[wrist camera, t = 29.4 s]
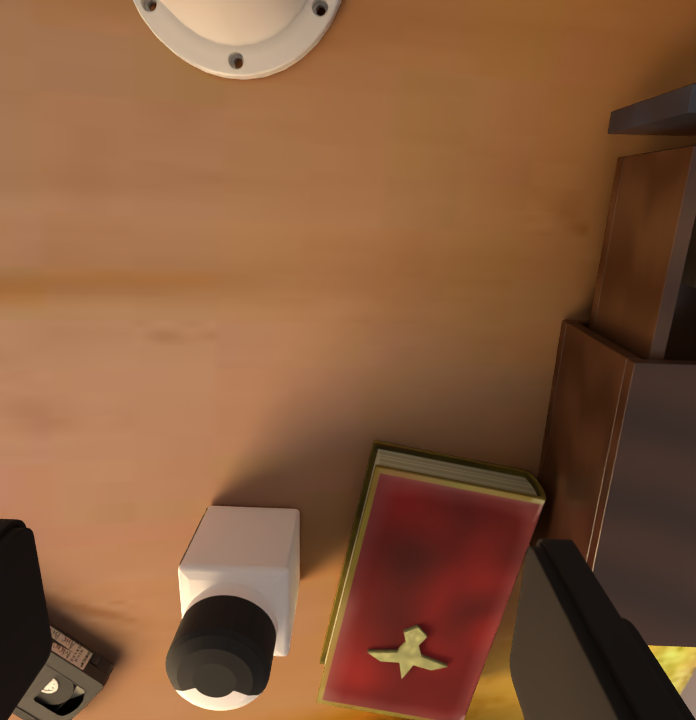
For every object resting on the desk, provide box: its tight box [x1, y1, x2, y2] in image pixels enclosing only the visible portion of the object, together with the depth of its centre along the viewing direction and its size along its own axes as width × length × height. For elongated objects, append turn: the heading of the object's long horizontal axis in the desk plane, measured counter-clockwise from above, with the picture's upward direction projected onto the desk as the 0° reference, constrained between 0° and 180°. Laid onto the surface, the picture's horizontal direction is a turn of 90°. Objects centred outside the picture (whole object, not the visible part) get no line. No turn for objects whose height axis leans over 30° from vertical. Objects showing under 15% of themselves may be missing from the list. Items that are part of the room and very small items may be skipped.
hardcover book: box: [316, 440, 546, 720], centre depth 39 cm, size 12×21×4 cm, turn 168°
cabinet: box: [529, 320, 696, 647], centre depth 33 cm, size 18×13×10 cm
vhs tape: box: [12, 624, 114, 720], centre depth 43 cm, size 14×8×2 cm, turn 47°
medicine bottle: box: [166, 506, 300, 710], centre depth 35 cm, size 7×7×12 cm
